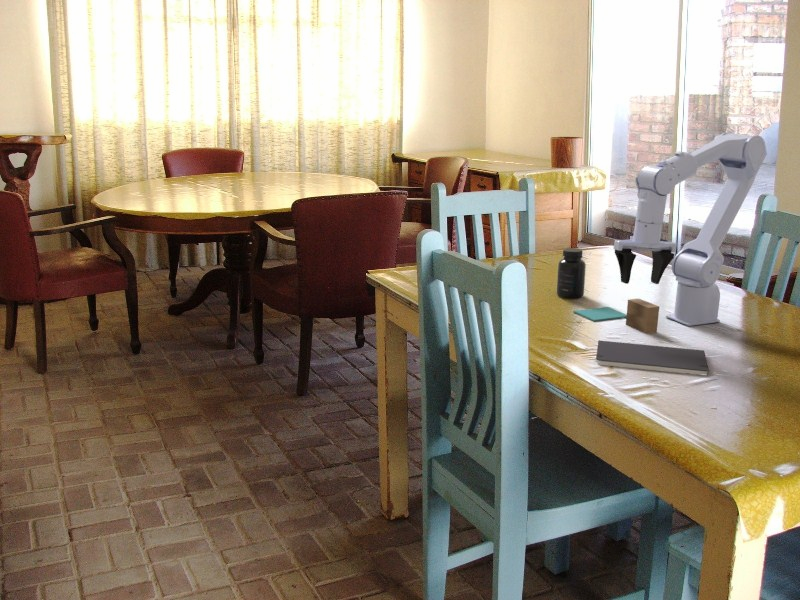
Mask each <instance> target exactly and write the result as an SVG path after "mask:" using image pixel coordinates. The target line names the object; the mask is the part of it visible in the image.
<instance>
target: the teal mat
mask: <svg viewBox="0 0 800 600" xmlns="http://www.w3.org/2000/svg"><path fill="white" fill-rule="evenodd" d="M573 313H574V314H575V315H578V316H581V317H583V318H585V319H587V320H589V321H591V322H602V321H609V320H619V319H626V316H627V313H624V312H621V311H619V310H617V309H614V308H613V307H609V306H604V307H596V308H595V307H594V308H587V309H578V310H573Z"/></svg>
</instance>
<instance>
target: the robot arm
mask: <svg viewBox="0 0 800 600" xmlns="http://www.w3.org/2000/svg"><path fill="white" fill-rule="evenodd" d="M767 155H768V152H767V147H766V142H765V140H764V138H763V136H760V135H756V134H755V135H749V134H738V133H731V132H728V131H726V132H725V131H724V132H723V133H721V134H718V135H716V136H714V139H713V140H711V141H710V142H708V143H707V144H705V145H703V146H701V147H700V148H698V149H696V150H695V151H693V152H691V153H689V152H686V151H680V150H678V151H676V152H674V156H672V157H669V158H667V159H665V160H662V159H661V160H659V161H658V163H657V164H656V165H651V164H650V165H646V166H643V168H641V169H640V171H639V172H638V174H637V175H636V177H635V182H634V183H635V186H636V189H637V194H636V196H637V198H638V203H637V208H636V216H635V222H634V223H635V224H634V229H633V236H632V239H619V240H618V239H616V240H614V244H613V249H614V255H615V257H616V260H617V263H618V266H619V273H620V282H621V283H623V284H629V283H630V280H631V274H632V268H633V265H634V263H635V259H636V257H637V254H635V253H634V252H633V251H647V252H648V251H649V252H651V254H652V255H651V256H652V257H651V258H652V265H651V266H652V267H651V274H650V282H651V283H653V284H655V285H659V284H660V281H661V279H662V277H663V275H664V273H665V270H666V269H667V267H668V265H669V264H670V263H671V271H672V273H673V275H674V276H675V281H677V283H676V285H677V286H676V294H675V295H676V296H675V304H674V313H670V314H665V318H667V319H670V320H672V321H675V322H677V323H680V324H683V325H685V326H687V327H692V326H699V325H706V324H707V325H708V324H714V323H719V322H720V319H718V316H719V307H720V301H721V292H720V288H719V286H718V285H717V284H716V282H717V281H718V279H719V278H720V275H721V271H722V266H723V263H724V262H725V258H724V257H725V256H724V255H723V254H722V252H721V250H720V248H721V246H722V244H723V242H724V240H725V238H726V236H727V234H728V232H729V230H730V228H731V226H732V224H733V223H734V221H735V219H736V217H737V215H738V213H739V211H740V210H741V207H742V206H743V203H744V201H745V200H746V198H747V196H748V194H749V192H750V190H751V188H752V186H753V185H754V182H755V180H756V176H757V174H758V173H759V171H760V169H761V166H762V165H763V163H764V161H765V159H766V157H767ZM714 161H718V163H719V164H720V166H721V168H722V171H723V172H724V173H725V174H726V176H727V177H726V178H727V179H726V181H725V183H724V185H723V187H722V189H721V191H720V192H719V194H718V196H717V198H716V200H715V202H714V203H713V206H712V208H711V209H710V212H709V214H708V216H707V217H706V219H705V221H704V224H703V225H702V227H701V229H700V231H699V234H698V235H697V237H696V238H695V239H693V240H690V241H689V242H686V243H685V244H683V246H682V248H681V250H679V252H678V253H676V251H677V246H678V243H677V242H674V241H664V240H663V241H661V235H662V231H663V230H662V229H663V223H664V217H665V210H666V203H667V198H668V195H669V194H671V193H672V192H673V190H674V188H675V187H676V185H679V184H680V183H682V182H684V181H686V180H687V179H689V178H691V177H694V176H695V175H696V174H697V172H698V169H699V168H701V167H704V166H705V165H707V164H710V163H713V162H714ZM675 253H676V255H675Z"/></svg>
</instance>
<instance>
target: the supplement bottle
mask: <svg viewBox="0 0 800 600" xmlns="http://www.w3.org/2000/svg"><path fill="white" fill-rule="evenodd" d="M585 279H586V262H585V261H584V260H583V249H581V248H575V247H568V248H564V249H563V250H562V259H560V260H559V262H558V265H557V279H556V295H557V296H558V297H560V298H562V299H566V300H567V299H568V300H577V299H578V300H579V299H581V298H583V297H584V296H585V295H584V293H585V283H586V281H585Z"/></svg>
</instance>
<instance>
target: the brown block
mask: <svg viewBox="0 0 800 600" xmlns="http://www.w3.org/2000/svg"><path fill="white" fill-rule="evenodd" d="M659 314H660V306H659V305H658V304H657V305H656V304H654V303H651V302H649V301H646V300H644V299H642V298H632V299H627V307H626V315H627V316H626V318H625V319H626V320H625V326H626V327H627V326H628V327H630V328H632V329H635V330H637V331H639V332H641V333H644V334H645V335H647V334H654V333H657V331H658V323H659Z"/></svg>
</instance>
